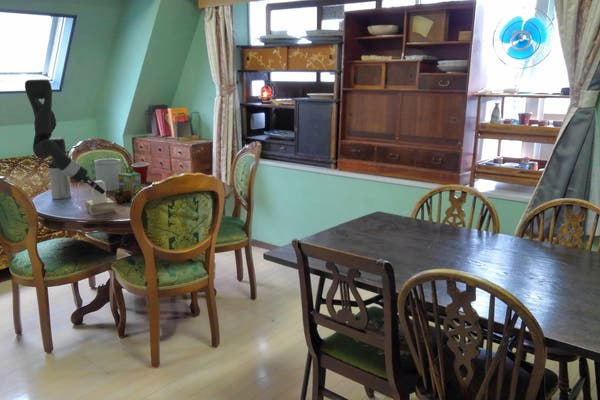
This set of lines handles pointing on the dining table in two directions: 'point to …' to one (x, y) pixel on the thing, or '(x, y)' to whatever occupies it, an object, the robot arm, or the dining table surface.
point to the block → (100, 207)
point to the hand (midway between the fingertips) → (101, 191)
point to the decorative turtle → (123, 195)
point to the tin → (96, 195)
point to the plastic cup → (141, 170)
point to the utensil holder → (108, 172)
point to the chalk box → (130, 181)
